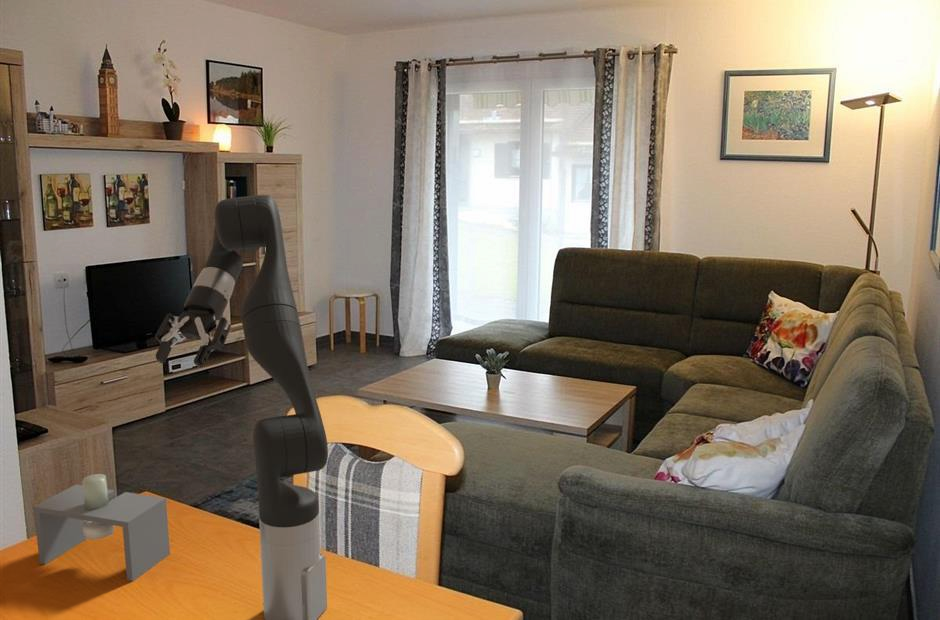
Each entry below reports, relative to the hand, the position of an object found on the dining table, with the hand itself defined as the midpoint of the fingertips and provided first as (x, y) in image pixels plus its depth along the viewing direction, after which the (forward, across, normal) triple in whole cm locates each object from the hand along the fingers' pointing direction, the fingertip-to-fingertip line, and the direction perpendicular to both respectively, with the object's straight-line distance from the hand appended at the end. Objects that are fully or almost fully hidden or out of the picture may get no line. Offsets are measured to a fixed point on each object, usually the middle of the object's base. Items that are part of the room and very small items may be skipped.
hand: (178, 363), depth 154 cm
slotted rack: (+36, -5, +10) cm, 38 cm away
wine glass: (+32, -5, +6) cm, 33 cm away
